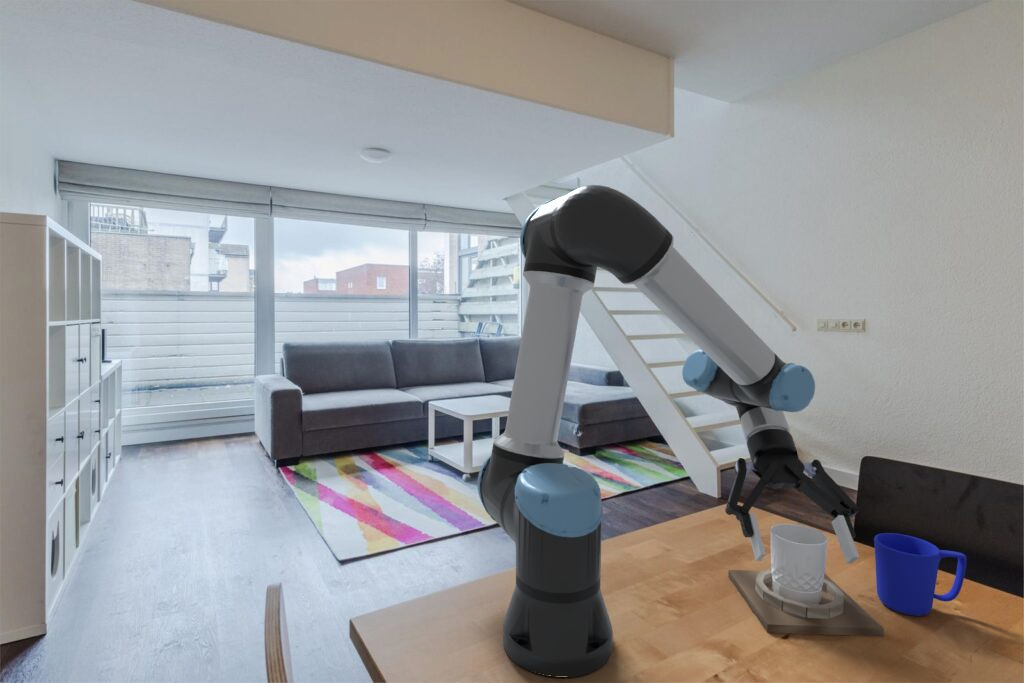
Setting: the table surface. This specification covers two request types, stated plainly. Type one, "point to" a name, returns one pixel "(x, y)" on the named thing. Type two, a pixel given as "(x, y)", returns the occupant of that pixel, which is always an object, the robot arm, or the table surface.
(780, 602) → the brown flat ringed piece
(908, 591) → the mug
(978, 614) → the table surface
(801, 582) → the white cup
